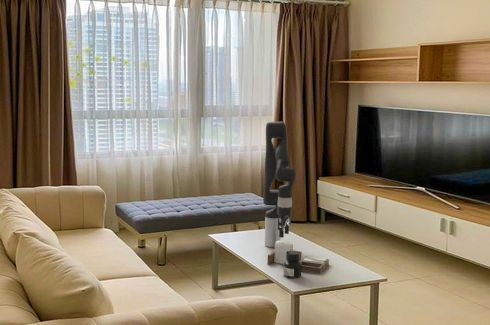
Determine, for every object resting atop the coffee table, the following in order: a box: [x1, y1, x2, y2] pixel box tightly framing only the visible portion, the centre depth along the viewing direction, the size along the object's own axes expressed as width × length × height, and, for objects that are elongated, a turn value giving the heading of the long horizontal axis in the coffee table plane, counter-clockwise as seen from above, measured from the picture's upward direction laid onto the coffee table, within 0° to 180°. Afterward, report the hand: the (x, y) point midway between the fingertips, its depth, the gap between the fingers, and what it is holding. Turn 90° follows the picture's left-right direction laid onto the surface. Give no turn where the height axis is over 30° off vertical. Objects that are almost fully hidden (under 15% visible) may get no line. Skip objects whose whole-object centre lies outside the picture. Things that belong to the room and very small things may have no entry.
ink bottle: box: [283, 250, 303, 279], centre depth 297 cm, size 10×9×12 cm
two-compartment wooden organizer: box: [300, 255, 330, 275], centre depth 311 cm, size 17×13×3 cm
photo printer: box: [273, 240, 294, 265], centre depth 316 cm, size 10×4×12 cm, turn 56°
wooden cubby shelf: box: [267, 249, 302, 265], centre depth 318 cm, size 14×14×5 cm
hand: (284, 235), depth 315 cm, fingers open, 8 cm apart
